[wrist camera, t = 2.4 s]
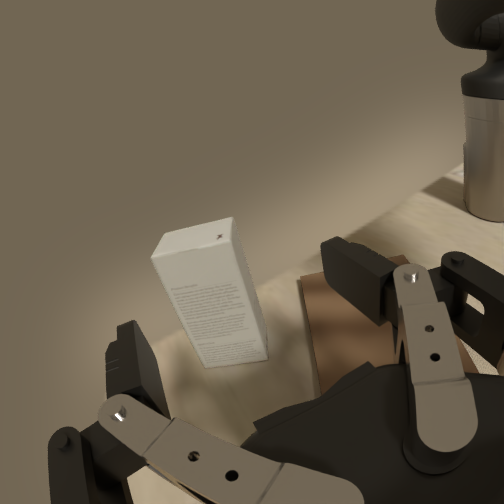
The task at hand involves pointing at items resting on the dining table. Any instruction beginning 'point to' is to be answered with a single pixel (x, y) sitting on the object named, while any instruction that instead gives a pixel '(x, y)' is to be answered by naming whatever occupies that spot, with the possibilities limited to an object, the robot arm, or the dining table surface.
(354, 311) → the walnut board
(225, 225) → the skincare box
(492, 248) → the dining table surface
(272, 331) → the dining table surface
